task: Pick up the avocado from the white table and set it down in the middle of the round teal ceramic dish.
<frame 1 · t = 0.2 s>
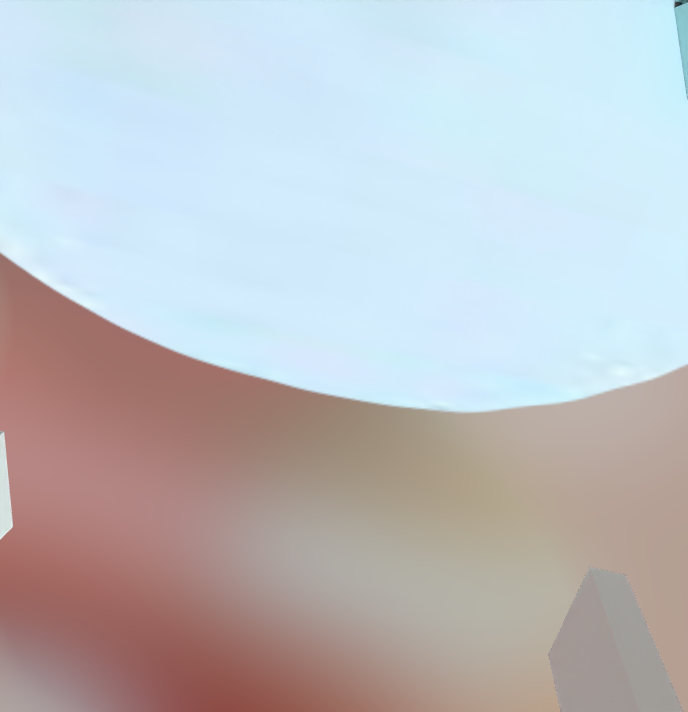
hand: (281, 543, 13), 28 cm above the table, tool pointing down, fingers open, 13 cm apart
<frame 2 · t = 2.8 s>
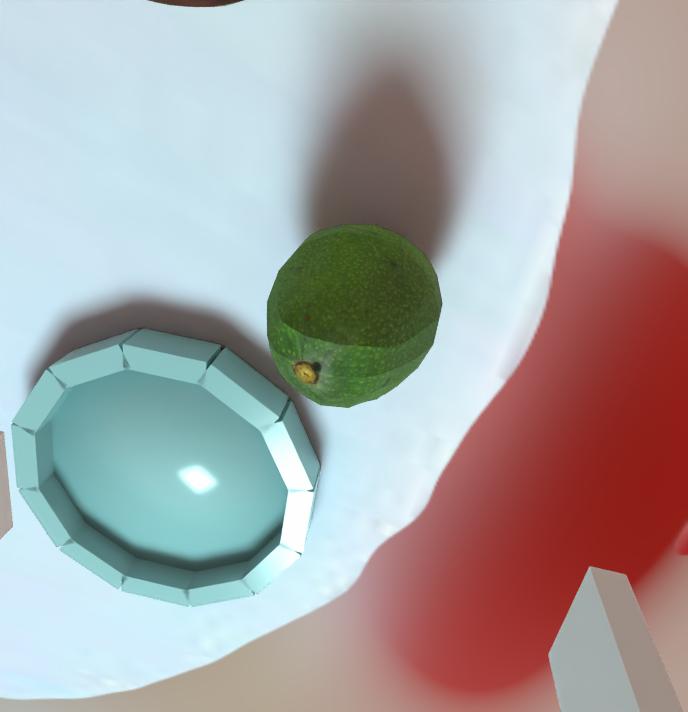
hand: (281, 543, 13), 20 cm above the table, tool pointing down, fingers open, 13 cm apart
avocado: (365, 281, 31), on the table
dish: (175, 466, 38), on the table
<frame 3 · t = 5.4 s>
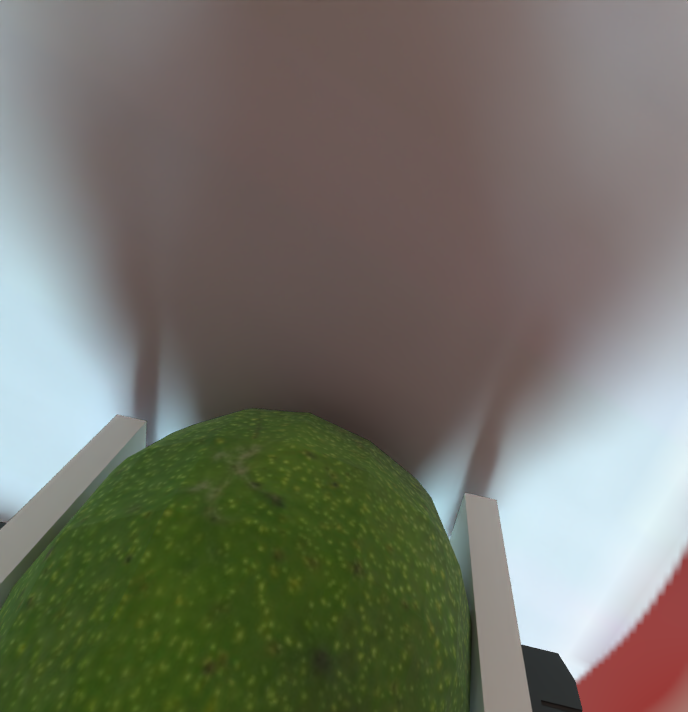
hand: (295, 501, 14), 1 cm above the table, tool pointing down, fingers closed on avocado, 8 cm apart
avocado: (302, 479, 15), on the table, touching gripper
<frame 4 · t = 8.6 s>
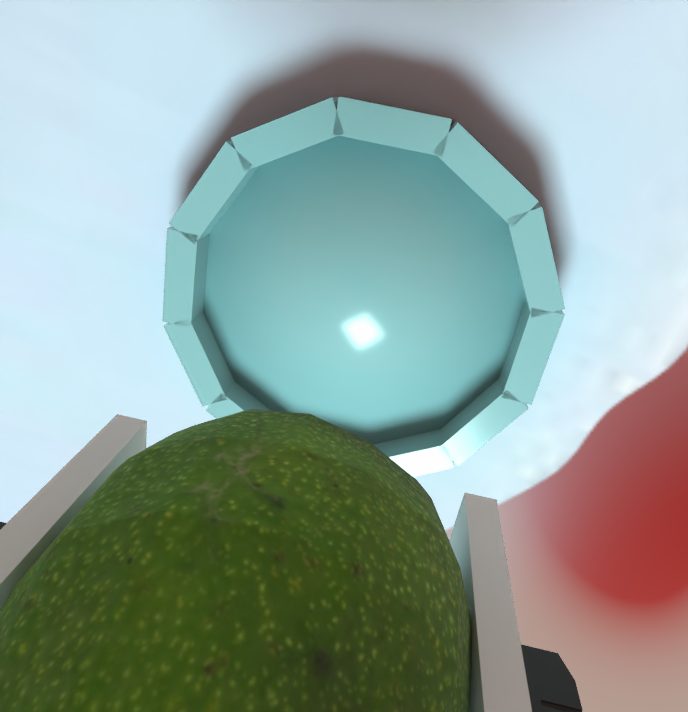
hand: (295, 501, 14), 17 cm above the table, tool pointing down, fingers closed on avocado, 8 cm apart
avocado: (302, 479, 15), point 16 cm above the table, touching gripper
dish: (358, 302, 30), on the table
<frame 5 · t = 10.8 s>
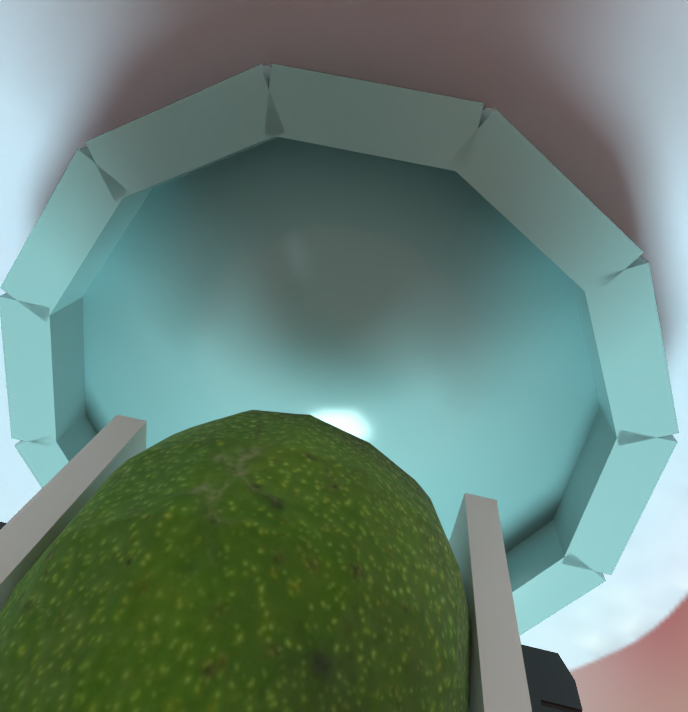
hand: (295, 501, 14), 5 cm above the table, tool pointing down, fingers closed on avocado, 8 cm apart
avocado: (302, 480, 15), point 4 cm above the table, touching gripper
dish: (328, 399, 19), on the table
when the fingers open (4 cm above the table, at t = 12.0 s): avocado drops 2 cm, resting on dish.
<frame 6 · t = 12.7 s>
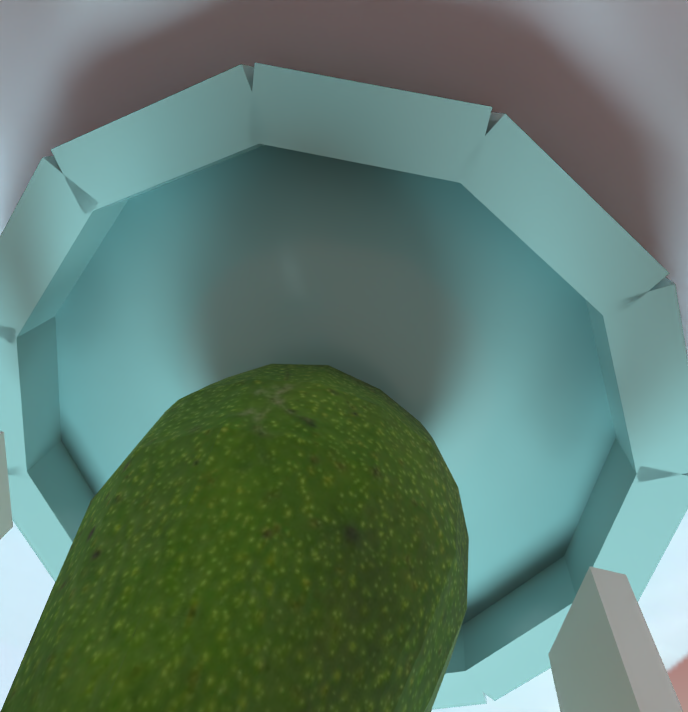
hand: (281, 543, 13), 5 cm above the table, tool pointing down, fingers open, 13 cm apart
avocado: (318, 434, 17), point 1 cm above the table, touching dish
dish: (321, 425, 18), on the table
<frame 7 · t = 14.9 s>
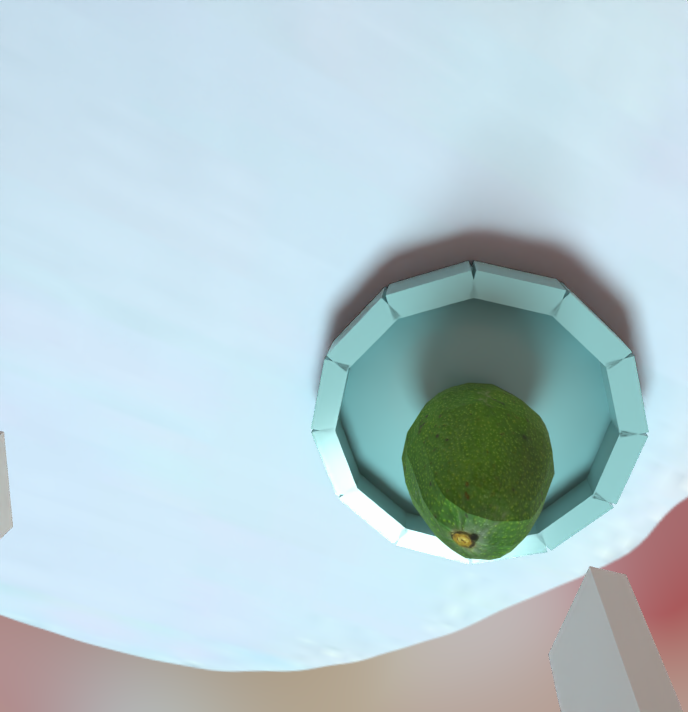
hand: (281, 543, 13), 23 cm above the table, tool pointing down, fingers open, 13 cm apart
avocado: (470, 416, 36), point 1 cm above the table, touching dish
dish: (469, 413, 36), on the table
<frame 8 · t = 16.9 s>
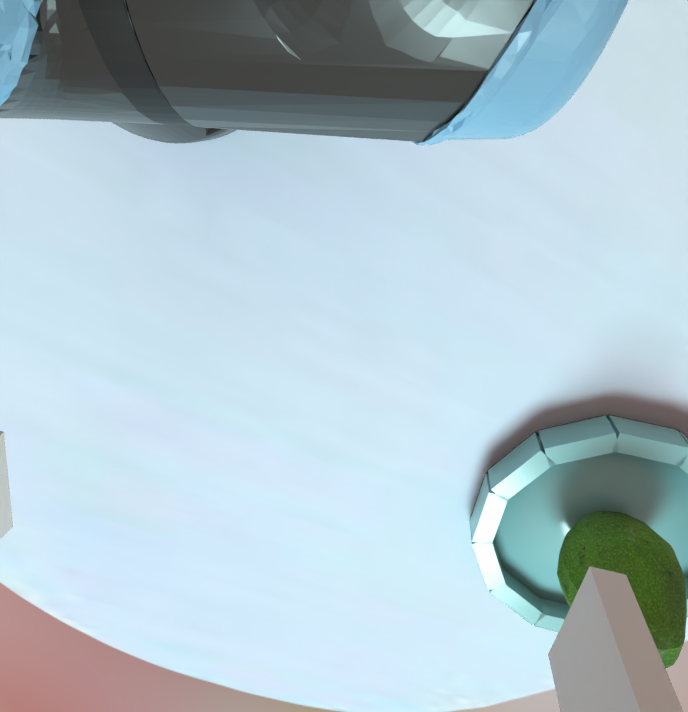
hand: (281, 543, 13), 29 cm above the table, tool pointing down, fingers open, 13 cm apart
avocado: (598, 528, 45), point 1 cm above the table, touching dish
dish: (596, 523, 45), on the table
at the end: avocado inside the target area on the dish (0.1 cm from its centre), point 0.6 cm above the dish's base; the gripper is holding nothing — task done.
